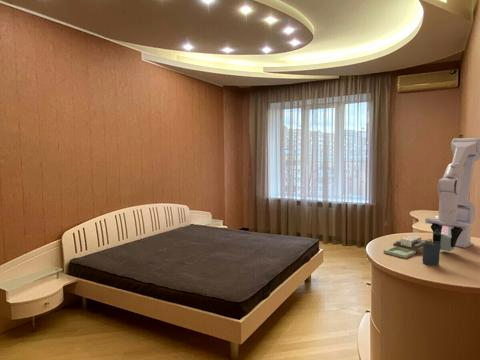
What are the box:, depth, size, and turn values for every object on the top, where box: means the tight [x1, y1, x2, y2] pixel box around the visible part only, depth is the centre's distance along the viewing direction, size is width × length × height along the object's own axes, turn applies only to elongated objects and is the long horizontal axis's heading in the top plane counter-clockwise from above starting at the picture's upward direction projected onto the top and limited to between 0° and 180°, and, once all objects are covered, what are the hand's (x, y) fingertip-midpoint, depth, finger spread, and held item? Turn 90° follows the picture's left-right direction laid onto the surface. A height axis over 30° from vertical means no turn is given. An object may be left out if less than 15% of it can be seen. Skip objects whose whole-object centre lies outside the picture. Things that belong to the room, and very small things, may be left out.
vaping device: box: [421, 229, 441, 266], centre depth 110 cm, size 3×5×12 cm, turn 79°
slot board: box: [392, 238, 433, 255], centre depth 129 cm, size 14×10×3 cm, turn 128°
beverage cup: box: [434, 215, 448, 235], centre depth 146 cm, size 6×6×14 cm
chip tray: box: [383, 245, 417, 259], centre depth 122 cm, size 9×8×1 cm
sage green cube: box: [440, 234, 455, 252], centre depth 123 cm, size 4×4×5 cm
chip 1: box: [400, 236, 416, 247], centre depth 126 cm, size 4×4×2 cm
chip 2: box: [406, 234, 422, 244], centre depth 129 cm, size 4×4×2 cm
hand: (445, 245), depth 123 cm, fingers closed on sage green cube, 4 cm apart
